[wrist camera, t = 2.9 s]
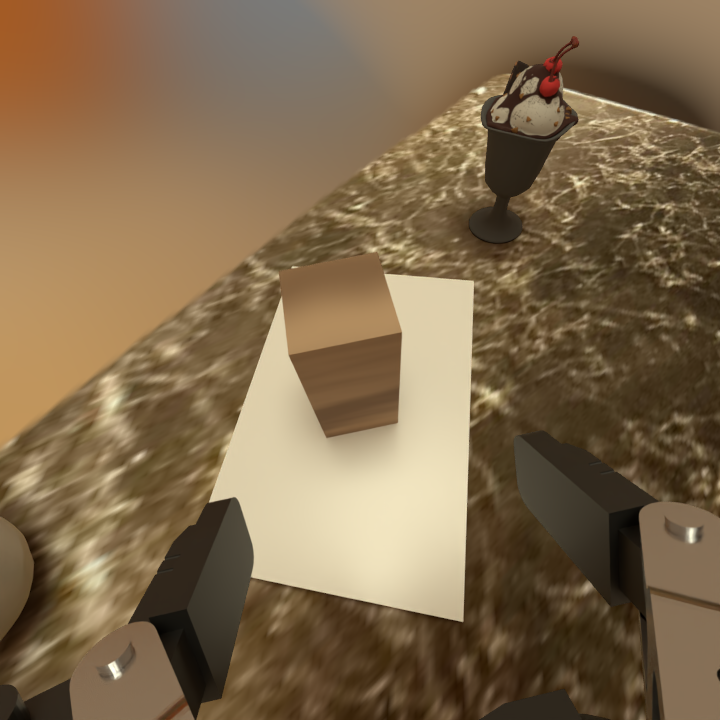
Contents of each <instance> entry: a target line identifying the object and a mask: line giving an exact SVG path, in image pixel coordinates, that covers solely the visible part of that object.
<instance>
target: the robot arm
mask: <svg viewBox="0 0 720 720" xmlns="http://www.w3.org/2000/svg"><path fill="white" fill-rule="evenodd" d="M514 452H515V462H516V473H517V483H518V488H519V492H520V495H521V497H522V499H523V501H524V503H525V505H526V506H527V507H528V509H529V510H530V511H531V512H532V513H533V515H534V516H535V517H536V518H537V519H538V520H539V522H540V523H541V524H542V525H543V526H544V528H545V529H546V530H547V531H548V532H549V534H550V535H551V536H552V537H553V538H554V539H555V541H556V542H557V543H558V544H559V545H560V547H561V548H562V549H563V550H564V551H565V553H566V554H567V555H568V556H569V557H570V559H571V560H572V561H573V562H574V563H575V564H576V566H577V567H578V568H579V569H580V570H581V572H582V573H583V574H584V575H585V576H586V578H587V579H588V580H589V581H590V582H591V584H592V585H593V586H594V587H595V588H596V589H597V591H598V592H599V593H600V594H601V595H602V597H603V598H604V599H605V600H606V601H607V603H608V604H609V605H610V606H611V607H612V606H616V605H620V604H624V603H629V602H632V603H633V604H634V605H635V606H636V608H637V609H638V610H639V629H640V642H641V654H642V667H643V680H644V693H645V705H646V720H720V518H718V517H717V516H715V515H713V514H711V513H710V512H708V511H705V510H703V509H700V508H698V507H695V506H691V505H687V504H683V503H677V502H659V501H658V500H656V499H655V498H653V497H652V496H650V495H649V494H648V493H646V492H645V491H643V490H642V489H640V488H639V487H638V486H636V485H635V484H633V483H632V482H630V481H629V480H628V479H626V478H625V477H623V476H622V475H621V474H619V473H618V472H614V470H613V469H612V468H611V467H609V466H608V465H606V464H605V463H602V462H601V460H599V459H598V458H596V457H595V456H593V455H592V454H591V453H589V452H588V451H586V450H584V449H581V448H578V447H576V446H573V445H570V444H567V443H565V444H561V443H560V442H558V441H557V440H556V439H554V438H553V437H552V436H550V435H549V434H548V433H546V432H545V431H536V432H532V433H527V434H523V435H518V436H516V437H515V438H514ZM253 565H254V551H253V545H252V541H251V538H250V535H249V532H248V528H247V525H246V522H245V519H244V516H243V512H242V509H241V506H240V503H239V501H238V499H237V498H236V497H232V498H228V499H223V500H219V501H214V502H210V503H207V504H206V505H205V507H204V509H203V511H202V513H201V515H200V517H199V519H198V521H197V523H196V525H192V526H189V527H188V528H187V529H186V530H185V531H184V532H183V533H182V534H181V535H180V536H179V537H178V538H177V539H176V540H175V541H174V542H173V544H172V545H171V547H170V549H169V551H168V553H167V554H166V556H165V561H163V562H162V563H161V565H160V567H159V569H158V571H157V575H155V576H154V578H153V580H152V581H151V583H150V585H149V587H148V589H147V590H146V592H145V594H144V596H143V598H142V599H141V601H140V603H139V605H138V607H137V608H136V610H135V612H134V614H133V616H132V617H131V619H130V621H129V623H128V625H125V626H123V627H121V628H119V629H117V630H115V631H113V632H112V633H110V634H108V635H107V636H106V637H104V638H103V639H102V640H100V641H99V642H98V643H97V644H96V645H95V646H94V647H93V648H92V649H91V650H89V652H88V653H87V654H86V655H85V656H84V657H83V659H82V660H81V661H80V663H79V664H78V666H77V667H76V669H75V671H74V673H73V675H72V677H71V679H69V680H67V681H65V682H63V683H61V684H59V685H57V686H55V687H53V688H51V689H49V690H47V691H45V692H43V693H41V694H39V695H37V696H35V697H33V698H31V699H29V700H27V701H25V702H24V701H23V700H22V698H21V696H20V694H19V693H18V691H17V689H16V688H15V687H14V686H12V685H0V720H196V719H197V715H198V712H199V708H200V705H201V703H204V702H208V701H213V700H217V699H221V698H222V694H223V690H224V685H225V681H226V677H227V673H228V669H229V665H230V661H231V657H232V652H233V648H234V644H235V640H236V636H237V632H238V628H239V624H240V620H241V615H242V611H243V607H244V603H245V599H246V595H247V591H248V587H249V583H250V578H251V574H252V570H253ZM480 720H609V719H606V718H602V717H597V716H593V715H588V714H578V712H577V710H576V708H575V707H574V705H573V703H572V701H571V700H570V698H569V696H568V694H567V693H566V691H565V689H562V690H558V691H554V692H550V693H546V694H541V695H537V696H533V697H529V698H525V699H521V700H517V701H513V702H509V703H505V704H503V705H501V706H500V707H498V708H497V709H495V710H494V711H492V712H490V713H489V714H487V715H486V716H484V717H483V718H481V719H480Z"/></svg>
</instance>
